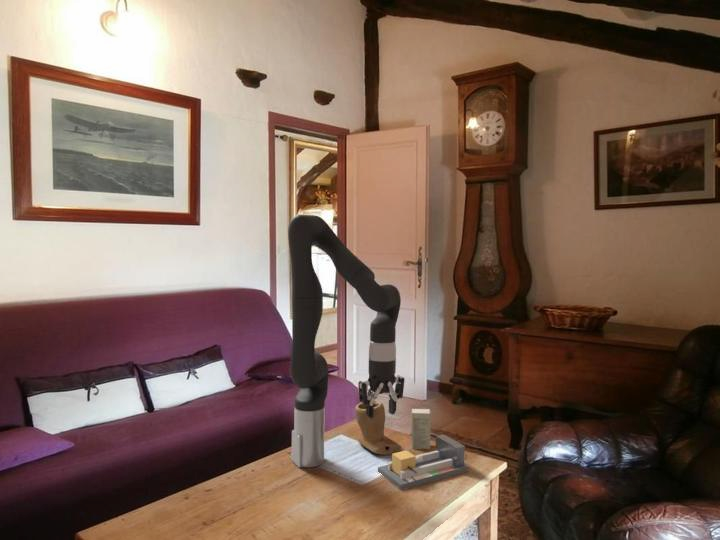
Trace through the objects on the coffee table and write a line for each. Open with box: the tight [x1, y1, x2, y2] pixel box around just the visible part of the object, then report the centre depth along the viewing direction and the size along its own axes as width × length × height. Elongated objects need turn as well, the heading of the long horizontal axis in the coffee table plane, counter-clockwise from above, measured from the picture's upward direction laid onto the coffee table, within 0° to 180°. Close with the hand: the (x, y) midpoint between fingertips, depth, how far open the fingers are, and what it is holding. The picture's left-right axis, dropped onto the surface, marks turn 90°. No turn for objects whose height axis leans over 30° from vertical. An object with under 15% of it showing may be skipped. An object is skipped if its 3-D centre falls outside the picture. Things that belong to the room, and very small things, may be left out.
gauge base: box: [377, 450, 469, 491], centre depth 155 cm, size 24×12×4 cm, turn 119°
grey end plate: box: [435, 434, 466, 468], centre depth 159 cm, size 3×10×6 cm, turn 29°
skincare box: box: [411, 408, 431, 450], centre depth 172 cm, size 6×4×12 cm
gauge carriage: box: [391, 449, 424, 475], centre depth 150 cm, size 9×9×5 cm
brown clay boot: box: [354, 400, 403, 456], centre depth 171 cm, size 15×12×15 cm
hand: (381, 415), depth 146 cm, fingers open, 6 cm apart
